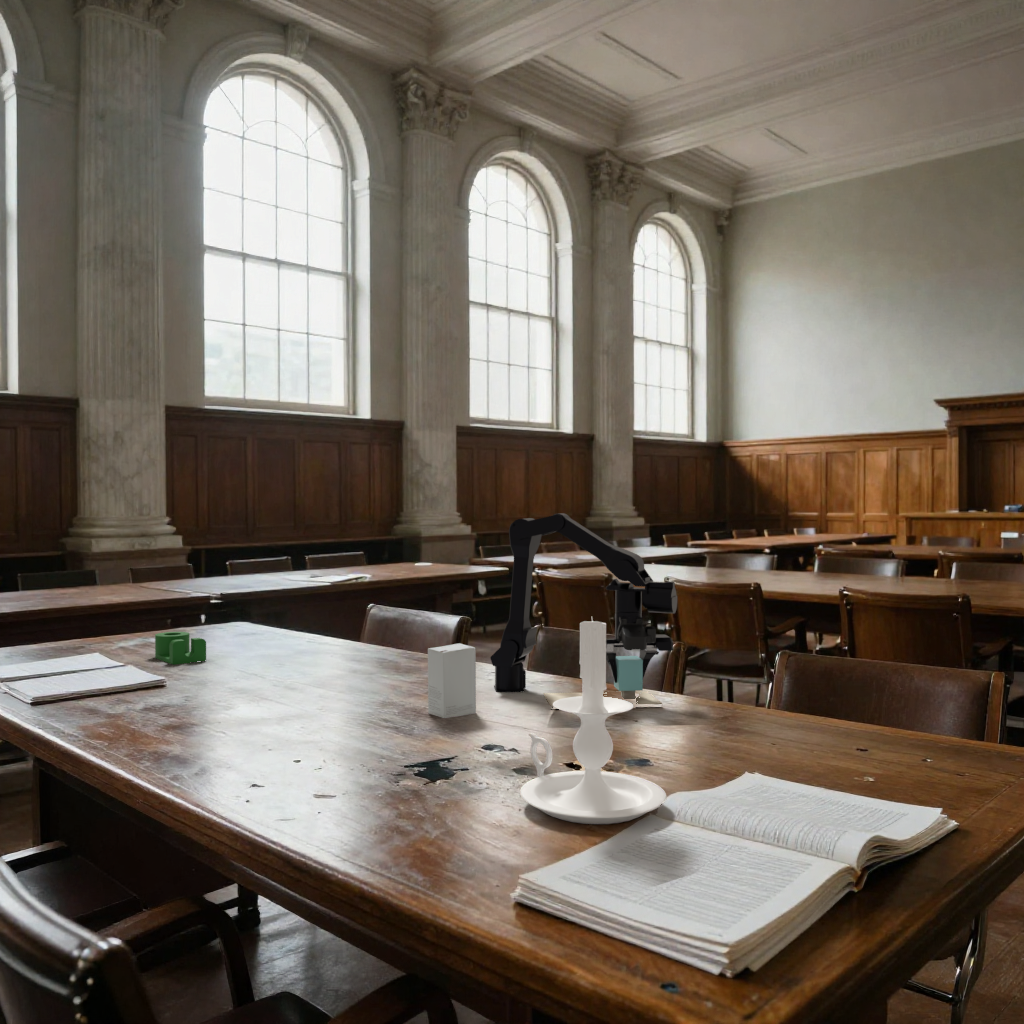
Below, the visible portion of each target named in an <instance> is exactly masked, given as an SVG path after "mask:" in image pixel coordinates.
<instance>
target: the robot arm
mask: <svg viewBox="0 0 1024 1024" xmlns="http://www.w3.org/2000/svg"><path fill="white" fill-rule="evenodd" d="M553 533H554V534H555V533H559V534H560V535H562V536H563V537H564V538H567V539H568V540H570V541H572V542H573V544H575V545H577V546H579V547H580V548H582V549H583V550H584V551H586V552H588V553H590V555H593V556H594V557H595V558H597V559H598V560H599V561H600V562H602V564H603V565H604V566H605V568H606V569H607V570H608V571H609V572H610V573H612V574H613V576H615V577H616V578H614V579H612V581H611V582H610V583H609V584H608V585H607V586H606V587H605V589H606V590H607V591H615V599H614V600H615V606H614V607H615V609H614V610H615V611H614V612H615V613H614V621H615V622H614V623H615V625H614V626H615V627H614V638H606V663H607V664H608V667H609V670H610V673H611V676H612V679H613V683H614V682H615V683H617V668H616V656H617V652H616V651H615V650H614V648H623V649H624V650H626V651H632V650H639V655H638V657H639V658H641V659H642V660H643V679H644V678H645V674H646V672H647V669H648V666H649V664H650V662H651V660H652V659H653V657H654V656H656V655H659V653H660V652H663V651H665V652H666V651H667V652H669V651H674V641H673V639H672V637H670V636H668V635H667V634H657V629H656V627H655V626H654V625H651V626H650V625H647V626H644V624H643V623H644V622H643V616H642V613H643V612H642V611H643V609H642V607H643V608H644V609H646V611H647V612H648V613H659V614H660V613H661V614H676V611H677V609H678V595H677V590H676V587H675V586H676V582H675V581H673V580H672V581H671V580H670V581H654V580H653V579H652V577H651V575H650V574H649V573H648V571H647V570H646V568H645V562H644V560H643V558H642V557H641V556H640V554H639V555H638V554H637V553H635V552H633V551H630V550H627V549H625V548H623V547H619V546H616V545H614V544H612V543H610V542H608V541H607V540H605V539H603V538H601V537H600V536H599V535H597V534H596V533H594V532H593V531H591V530H590V529H588V528H587V527H585V526H583V525H581V524H580V523H579V522H578V521H576V520H574V519H573V518H571V517H570V515H568V514H566V513H564V512H563V513H554V514H553V515H549V516H545V517H539V518H536V519H535V518H532V517H528V518H517V519H515V520H514V521H513V522H512V523H510V525H509V529H508V535H509V536H508V537H509V544H510V545H509V546H510V549H511V553H512V555H513V565H512V578H511V579H512V580H511V590H510V602H509V603H510V604H509V615H508V616H509V618H508V621H507V623H506V625H505V628H504V630H503V633H502V637H501V640H500V647H498V649H497V650H496V651H495V652H494V653H493V654H492V655H491V656H490V661H491V664H492V666H493V667H494V685H493V689H494V691H495V692H496V693H521V692H520V691H524V692H525V689H526V687H527V686H526V683H527V682H526V681H527V680H526V679H527V678H526V674H527V673H526V670H525V668H524V662H525V661H526V659H527V656H528V655H529V654H530V653H531V652H532V651H533V649H534V646H536V645H537V641H536V640H537V639H536V636H537V632H538V627H537V626H534V627H533V626H532V625H531V622H530V611H531V610H530V609H531V599H532V598H531V595H532V583H533V570H534V559H535V557H536V553H537V552H538V549H539V547H540V543H541V540H542V536H547V535H551V534H553ZM619 580H620V581H622V582H620V581H619Z"/></svg>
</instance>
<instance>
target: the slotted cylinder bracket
mask: <svg viewBox="0 0 1024 1024" xmlns="http://www.w3.org/2000/svg"><path fill="white" fill-rule="evenodd" d="M154 637H155V638H154V640H155V641H154V645H155V646H154V647H155V648H154V649H155V650H154V655H155V657H154V658H155V659H157V660H159V661H162V662H165V663H166V664H170V665H174V666H175V665H185V664H184V663H187V664H191V663H190V662H197V661H205V660H206V661H207V641H206V639H204V638H201V637H192V638H190V632H186V631H167V632H160V633H159V632H158V633H156V634H154Z"/></svg>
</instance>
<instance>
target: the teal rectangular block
mask: <svg viewBox="0 0 1024 1024" xmlns="http://www.w3.org/2000/svg"><path fill="white" fill-rule="evenodd" d="M616 668H617V683H615V682H614V681H613V686H614V688H615V689H616V690H618V692H621V691H635V692H640V691H644V690H643V686H644V684H643V683H644V681H643V680H644V678H643V660H642V659H641V658H639V655H618V656H617V655H616Z"/></svg>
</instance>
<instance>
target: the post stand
mask: <svg viewBox="0 0 1024 1024" xmlns="http://www.w3.org/2000/svg"><path fill="white" fill-rule="evenodd" d="M643 691H644V690H643ZM604 692H605V693H604ZM607 692H608V691H603V694H607ZM620 692H621V696H622V697H623V698H624V699H635V698H636V696H635V692H636V691H620ZM648 692H650V691H648V690H647V691H644V692H642V693H641V694H640V693H639V696H638V697H637V698H636V702H637V701H638V702H637V703H638V704H662V705H663V703H662V701H660V700H659V699H658V698H657V697H656V696H654V695H653V694H652V693H651V694H649V693H648ZM543 694H544V696H545V697H544V696H543V697H544V698H545V700H546V699H547V700H546V702H548V704H549V705H550V707H552V706H553V703H554V702H555V701H557V700H559V699H563V698H568V697H577V696H582V692H543V693H542V695H543ZM604 696H607V695H604ZM604 696H603V697H604ZM639 697H640V698H639ZM637 703H636V704H637ZM632 704H633V703H632Z"/></svg>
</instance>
